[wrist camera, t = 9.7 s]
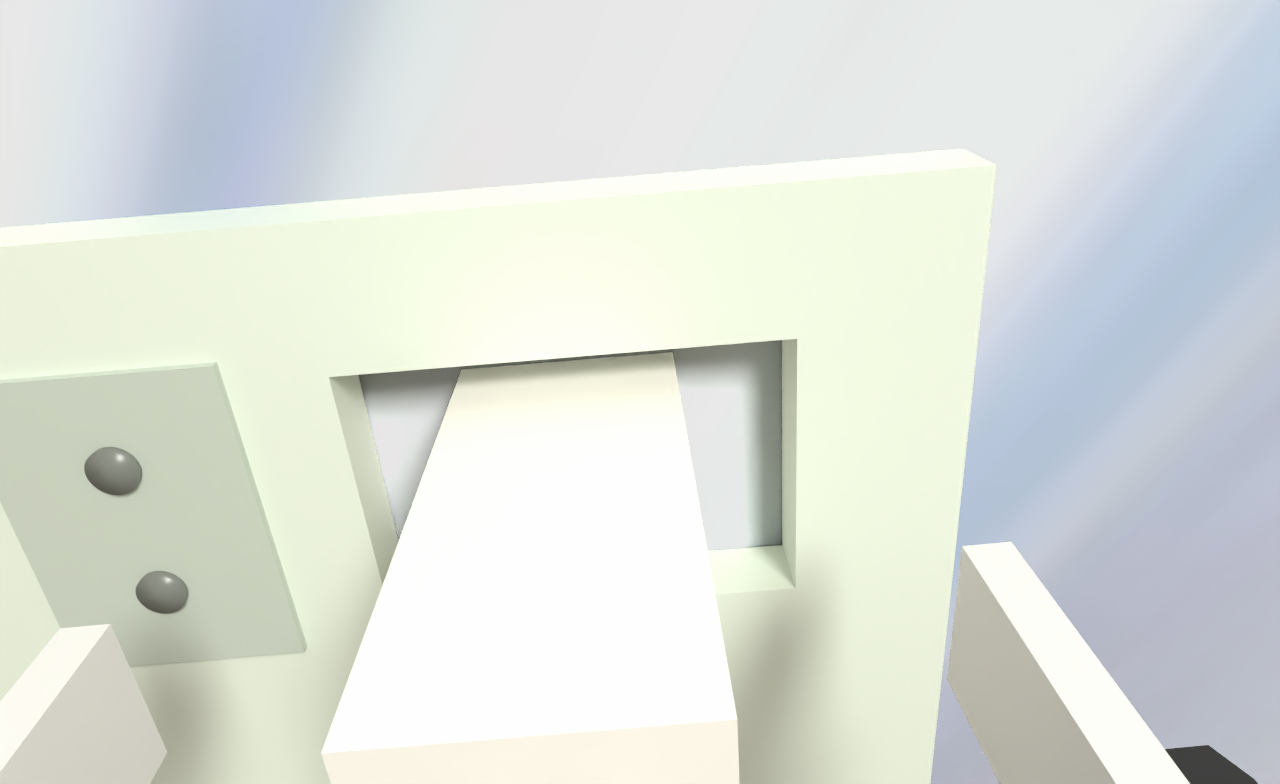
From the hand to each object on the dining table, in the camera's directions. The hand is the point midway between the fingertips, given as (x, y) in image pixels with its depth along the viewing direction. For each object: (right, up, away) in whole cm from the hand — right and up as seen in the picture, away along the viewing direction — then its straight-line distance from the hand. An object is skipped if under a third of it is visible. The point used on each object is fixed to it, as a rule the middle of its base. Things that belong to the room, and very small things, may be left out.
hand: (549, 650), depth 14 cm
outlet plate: (-3, +1, +7) cm, 7 cm away
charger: (0, +3, +6) cm, 6 cm away
